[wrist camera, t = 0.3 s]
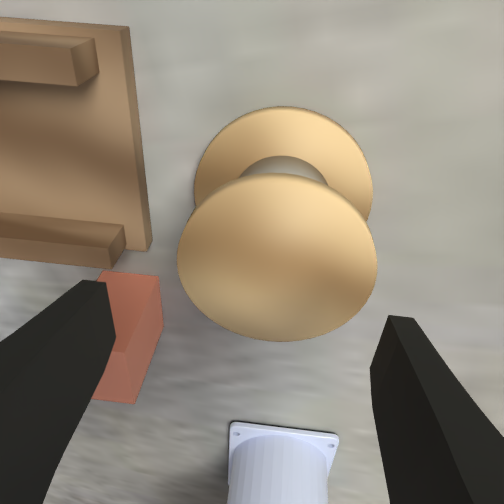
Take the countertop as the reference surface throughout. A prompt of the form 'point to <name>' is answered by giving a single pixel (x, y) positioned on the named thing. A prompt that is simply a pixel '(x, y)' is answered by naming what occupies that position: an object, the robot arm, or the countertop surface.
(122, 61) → the notch board
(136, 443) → the countertop surface
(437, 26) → the countertop surface
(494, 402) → the countertop surface
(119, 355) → the pink rectangular block
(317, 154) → the bobbin
